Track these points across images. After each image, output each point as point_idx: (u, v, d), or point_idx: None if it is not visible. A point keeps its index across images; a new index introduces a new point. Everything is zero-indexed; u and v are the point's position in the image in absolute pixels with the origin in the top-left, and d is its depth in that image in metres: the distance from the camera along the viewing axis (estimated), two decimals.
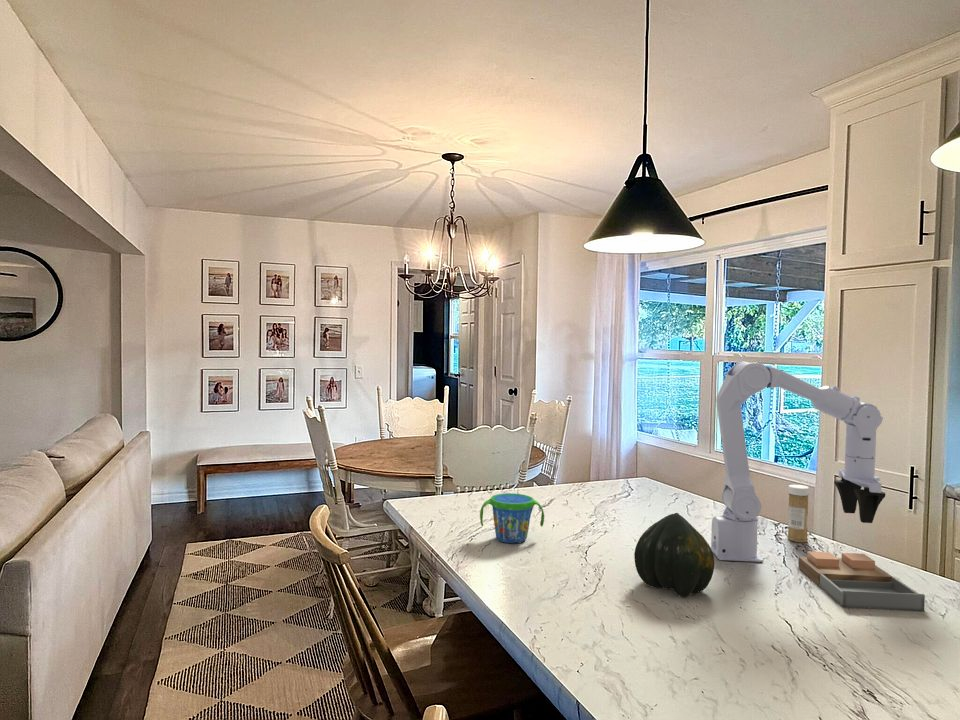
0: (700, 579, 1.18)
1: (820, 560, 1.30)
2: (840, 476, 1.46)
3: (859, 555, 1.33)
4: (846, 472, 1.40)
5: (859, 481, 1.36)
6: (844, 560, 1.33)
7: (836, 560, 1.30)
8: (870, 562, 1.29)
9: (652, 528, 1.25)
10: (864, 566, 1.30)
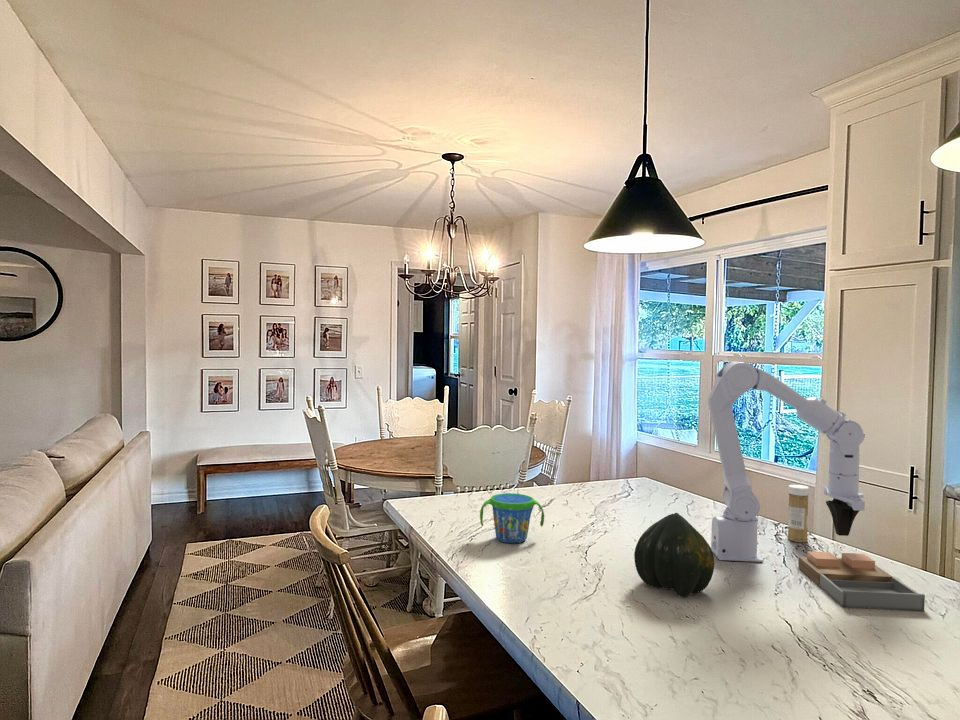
0: (700, 579, 1.18)
1: (820, 560, 1.30)
2: (825, 492, 1.45)
3: (859, 555, 1.33)
4: (830, 489, 1.39)
5: (843, 499, 1.35)
6: (844, 560, 1.33)
7: (836, 560, 1.30)
8: (870, 562, 1.29)
9: (652, 528, 1.25)
10: (864, 566, 1.30)
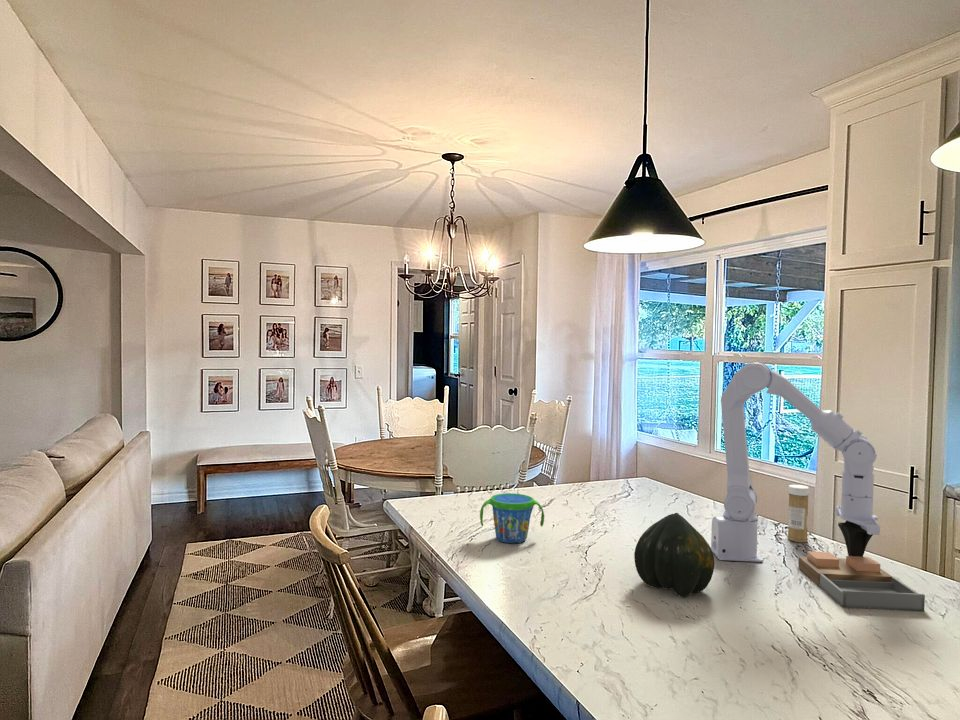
0: (700, 579, 1.18)
1: (820, 560, 1.30)
2: (837, 513, 1.39)
3: (864, 558, 1.31)
4: (843, 511, 1.33)
5: (856, 522, 1.29)
6: (849, 563, 1.31)
7: (836, 560, 1.30)
8: (875, 565, 1.28)
9: (652, 528, 1.25)
10: (869, 569, 1.28)
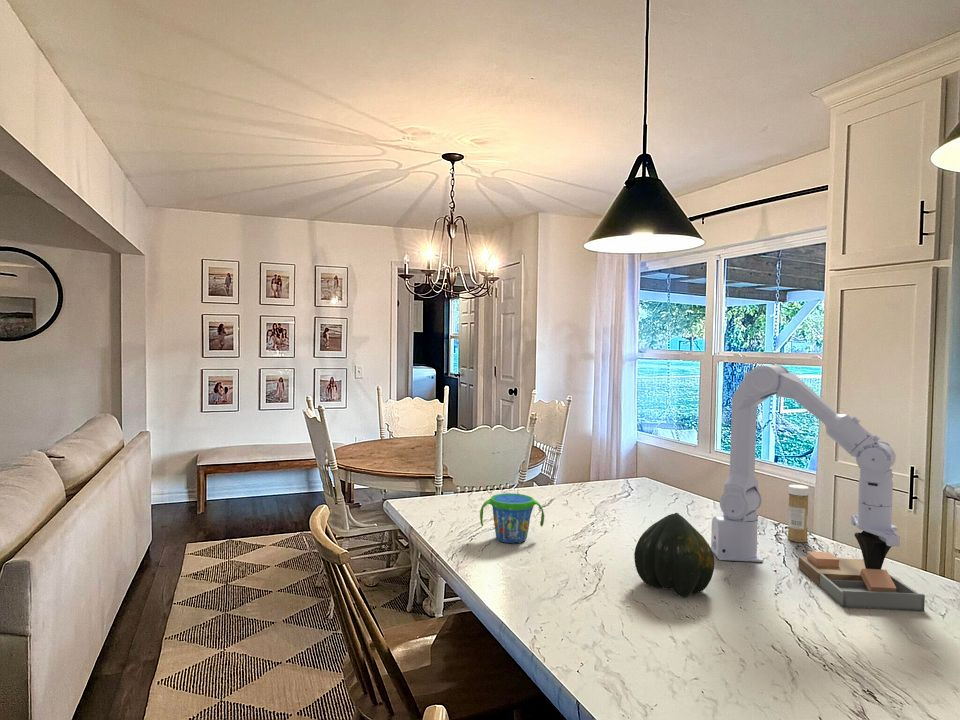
0: (700, 579, 1.18)
1: (820, 560, 1.30)
2: (853, 523, 1.32)
3: (880, 574, 1.24)
4: (860, 521, 1.26)
5: (874, 532, 1.22)
6: (863, 578, 1.25)
7: (836, 560, 1.30)
8: (891, 589, 1.21)
9: (652, 528, 1.25)
10: None
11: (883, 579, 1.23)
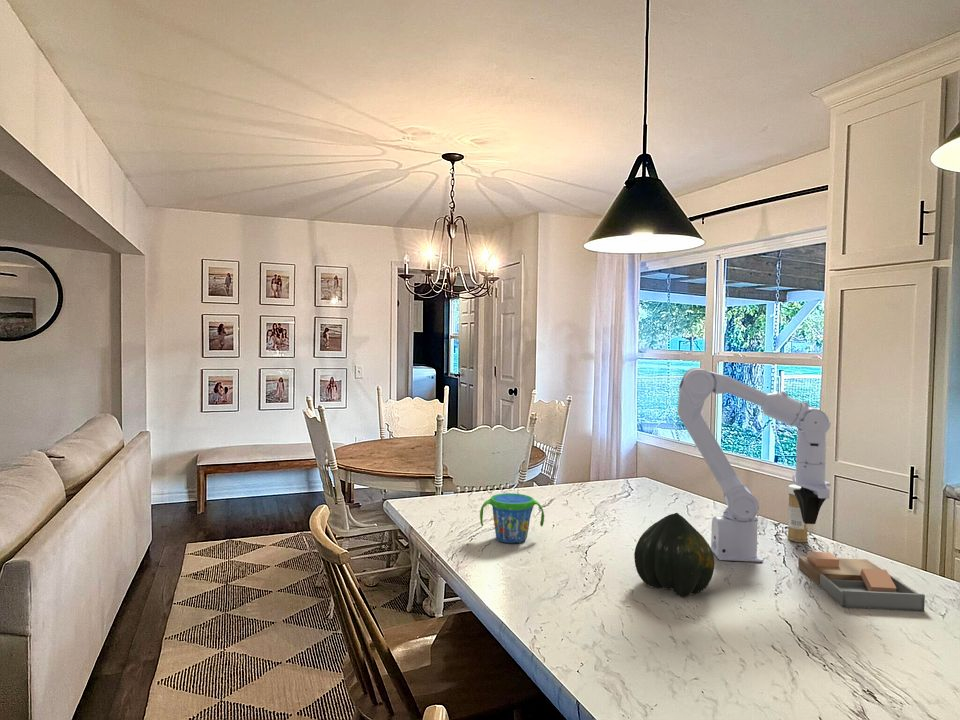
0: (700, 579, 1.18)
1: (820, 560, 1.30)
2: (793, 481, 1.46)
3: (880, 574, 1.24)
4: (797, 478, 1.39)
5: (809, 487, 1.36)
6: (863, 578, 1.25)
7: (836, 560, 1.30)
8: (891, 589, 1.21)
9: (652, 528, 1.25)
10: None
11: (883, 579, 1.23)
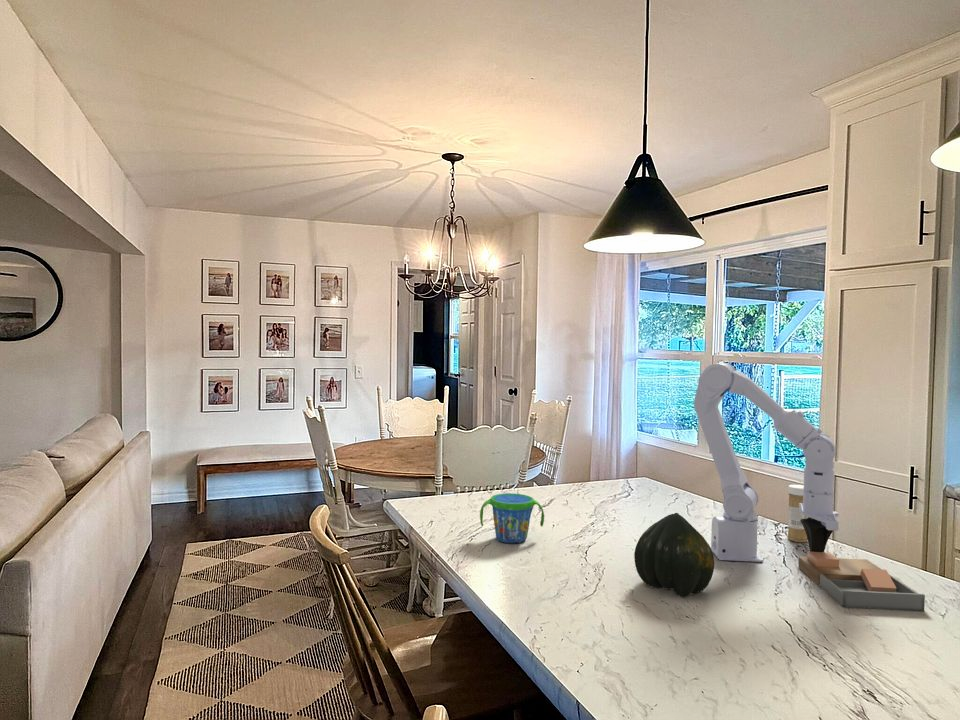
0: (700, 579, 1.18)
1: (820, 560, 1.30)
2: (800, 510, 1.42)
3: (880, 574, 1.24)
4: (804, 507, 1.35)
5: (816, 518, 1.32)
6: (863, 578, 1.25)
7: (836, 560, 1.30)
8: (891, 589, 1.21)
9: (652, 528, 1.25)
10: None
11: (883, 579, 1.23)
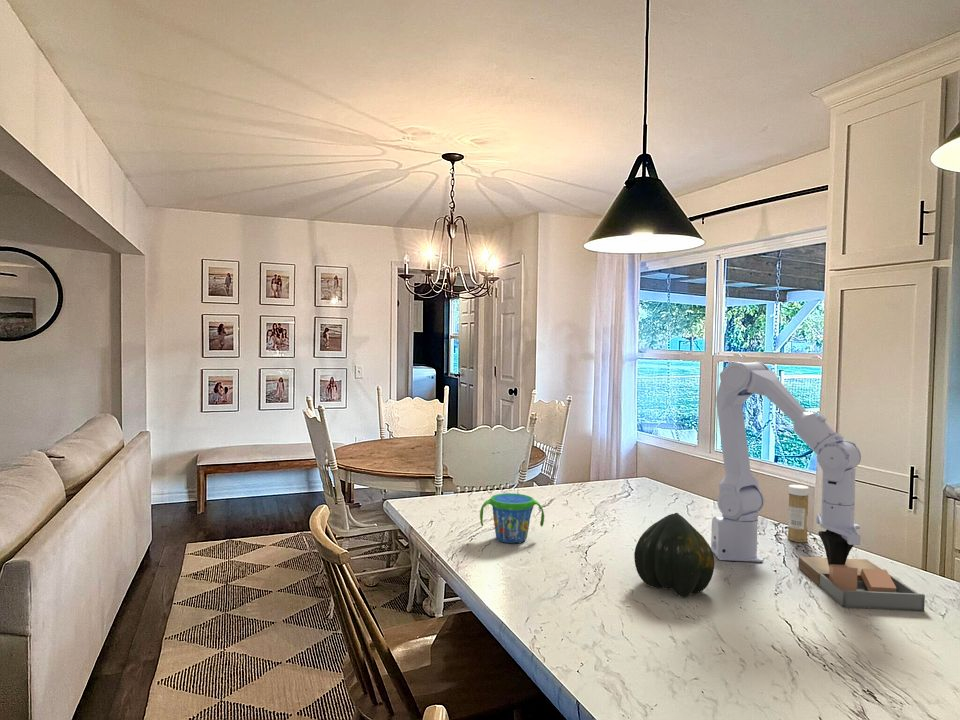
0: (700, 579, 1.18)
1: None
2: (818, 521, 1.33)
3: (880, 574, 1.24)
4: (823, 519, 1.26)
5: (836, 531, 1.23)
6: (863, 578, 1.25)
7: None
8: (891, 589, 1.21)
9: (652, 528, 1.25)
10: None
11: (883, 579, 1.23)
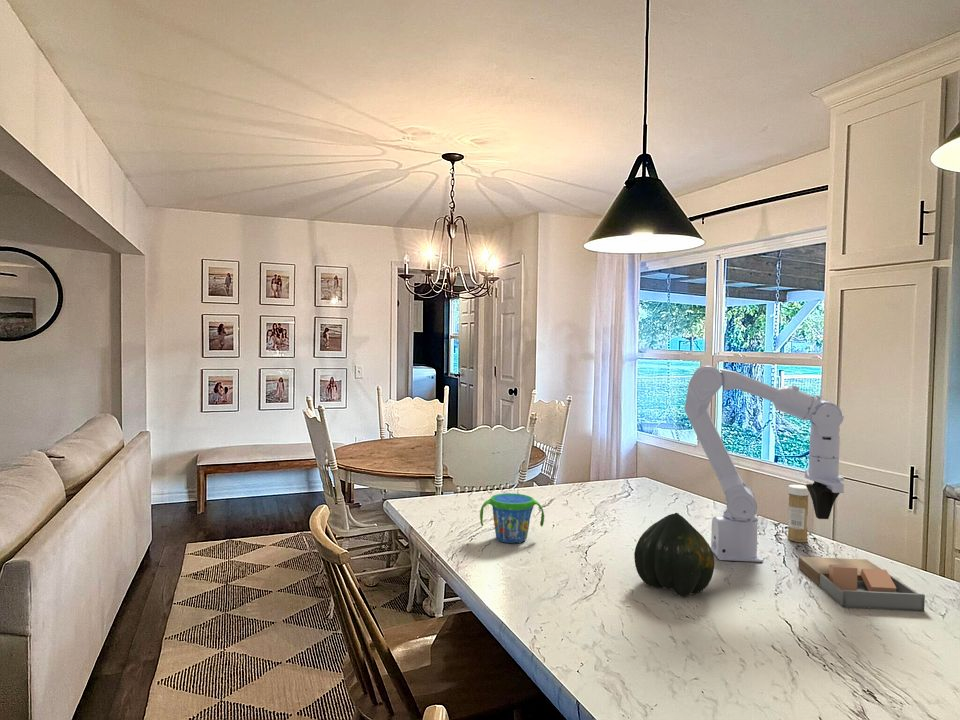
0: (700, 579, 1.18)
1: None
2: (806, 476, 1.44)
3: (880, 574, 1.24)
4: (810, 472, 1.37)
5: (822, 481, 1.34)
6: (863, 578, 1.25)
7: None
8: (891, 589, 1.21)
9: (652, 528, 1.25)
10: None
11: (883, 579, 1.23)
